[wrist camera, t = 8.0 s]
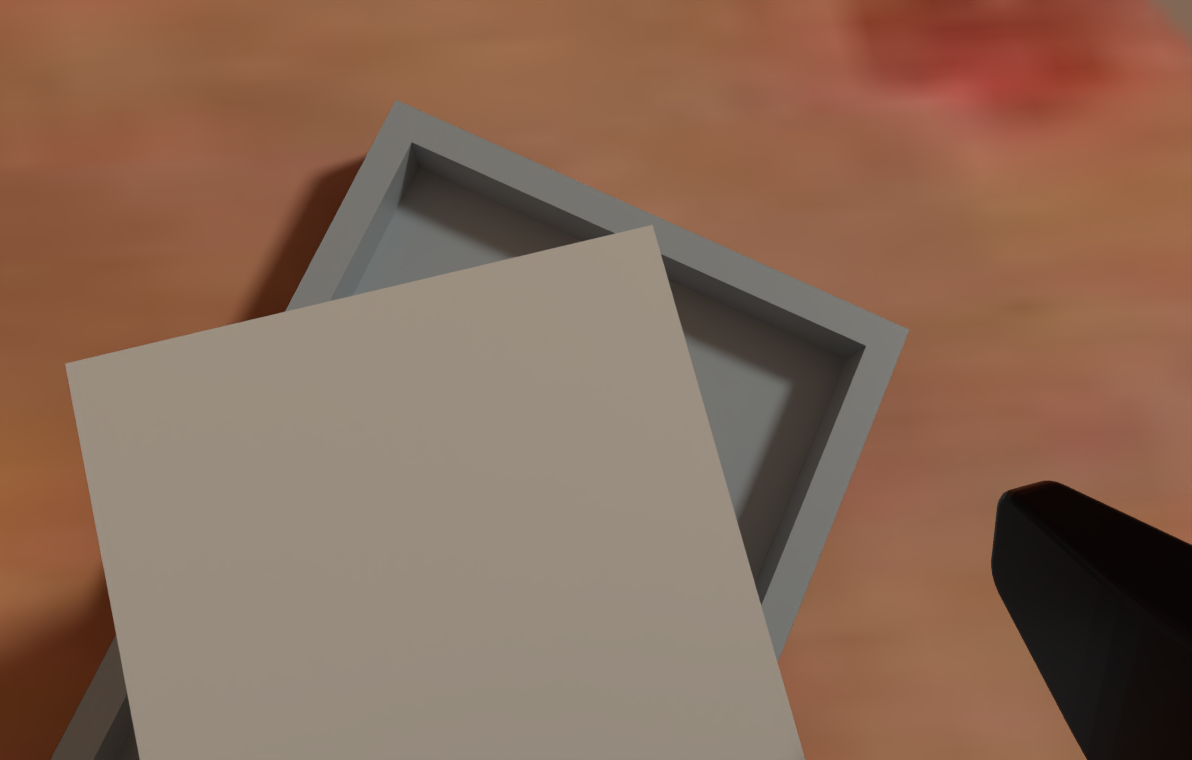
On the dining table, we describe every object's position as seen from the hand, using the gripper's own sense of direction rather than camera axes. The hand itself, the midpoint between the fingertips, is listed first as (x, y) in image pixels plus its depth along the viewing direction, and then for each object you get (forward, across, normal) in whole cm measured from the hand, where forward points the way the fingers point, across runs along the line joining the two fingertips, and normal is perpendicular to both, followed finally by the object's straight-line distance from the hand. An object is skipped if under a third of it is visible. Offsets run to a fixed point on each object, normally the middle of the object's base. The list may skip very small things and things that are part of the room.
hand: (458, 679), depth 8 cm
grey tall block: (+8, 0, +7) cm, 11 cm away
